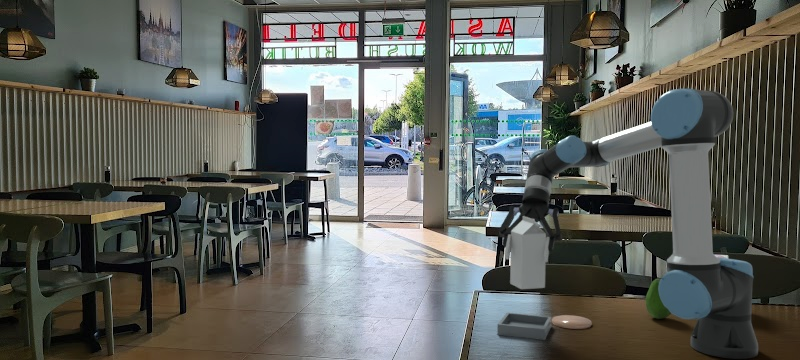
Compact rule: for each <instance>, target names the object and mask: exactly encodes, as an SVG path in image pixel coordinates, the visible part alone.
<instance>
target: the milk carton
mask: <svg viewBox="0 0 800 360" xmlns="http://www.w3.org/2000/svg"><path fill="white" fill-rule="evenodd" d="M540 227H541V224H539V222H535V219H531V218H528V217H524V216H523V219H522V221H521V222H520V223H519V224H518V225H517V226H516V227H515V228H514V229H513V230H511V249H510V267H509V269H510V275H509V276H510V277H509V279H510V280H509V283H510V285H512V286H515V288H518V289H519V290H532V289H543V288H544V289H545V288H546V262H544V250H545V244H546V237H547V234H546V232H545V230H543V229H541V228H540Z"/></svg>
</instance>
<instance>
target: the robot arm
mask: <svg viewBox="0 0 800 360" xmlns="http://www.w3.org/2000/svg"><path fill="white" fill-rule="evenodd" d="M733 119H734V108H733V105H732V103H731V101H730V100H729V98H727V97H726V95H723V94H722V93H720V92H718V91H713V90H703V89H695V88H676V89H671V90H668V91H666V92H665V93H663V94H662V95H660V96H659V98H658V99H657V100H656V101H655V102H654V104H653V107H652V109H651V114H650V121H647V122H646V123H642V124H639V125H636V126H633V127H630V128H627V129H623V130H621V131H618V132H616V133H613V134H610V135H606V136H603V137H601V138H598V139H594V140H592V141H591V140H590V141H583V140H582V139H581V138H580V137H577V135H569V136H567V137H565V138H562V139H561V140H559V142H557V143H556V144H555V145H553V146H552V147H550V148H549V149H545V148H544V149H543V148H542V149H537V150H535V151H533V153H532V154H531V156H530V159H529V161H528V169H527V175H526V181H525V186H524V190H523V196H522V199H521V200H522V201H521V204H520V206H519V207H514V205H510V206H509V210H508V213H507V215H506V217H505V218H504V221H503V222H502V223H501V225H500V226H499V228H498V233H499V237H500V238H503V241H502V245H503V248H505V250H504V258H505V260H509V259H510V255H511V230H513V229H514V228H515V227H516V226H517V225H518V224H519V223H520V222H521V221H522V219H523V216H524V217H528V218H531V219H535V222H537V223H540V226H542V228H543V231H544V232H545V233H546V244H545V250H544V262H545V263H548V261H549V260H548V259H549V254H550V252H553V251H554V248H555V246H554V245H555V242H556V241H558V242H561V241H562V240H563V238H562V231H561V227H560V223H559V215H560V214H559V208H558V207H554V208H553V209H552V208H549V206H550V205H549V203H550V196H551V193H552V185H553V179H554V177H556V176H557V175H559V174H561V173H562V172H564V171H565V170H567V169H569V168H587V167H588V168H590V167H591V168H592V167H594V168H599V167H600V168H602V167H605V166H608V165H609V164H610V163H612V162H615V161H619V160H621V159H625V158H628V157H631V156H635V155H638V154H642V153H646V152H648V151H652V150H655V149H659V148H662V150H664V151H665V152H666V153H667V154H668V164H669V165H668V166H669V187H670V188H669V190H670V209H671V210H670V211H671V213H670V214H671V227H672V228H671V231H672V254H671V255H670V256H669V257H668V258H667V259H666V273H665V274H664V275H662V278H660V279H661V280H660V282H659V287H658V291H659V296H660V299H661V301H662V303H663V305H664V306H665V307H666V308H667V309H668V310H669V311H670V312H671V314H672V315H674V316H675V317H677V318H680V319H683V320H697V321H696V323H695V325H694V326H693V327H694V328H693V330H692V332H691V334H690V346H691V348H692V349H693V350H694V351H697V352H699V353H702V354H705V355H708V356H713V357H718V358H724V359H733V360H734V359H735V360H743V359H744V360H746V359H754V358H755V357H757V356H758V354H759V343H758V340H757V338H756V333H755V330H754V328H753V324H752V308H753V307H752V302H753V286H754V285H753V284H754V283H753V282H754V275H753V273H754V270H753V265H752V264H751V263H750V262H748V261H745V260H739V259H734V258H729V259H727V258H720V257H716V256H715V255H716V254H715V255H714V252H713V251H714V250H713V229H712V228H713V226H712V209H711V208H712V207H711V187H710V186H711V185H710V160H709V153H710V150H711V149H712V148H713V147H714V146H715V145H716V140H715V139H716V137H719V136H720V135H722V134H724V133H725V132H726V131H727V130H728V129H729V127H730V126H731V124H732V123H733ZM518 214H519V215H518ZM517 215H518V217H517V218H516V219H515V217H516V216H517ZM548 215H550V218H552V220H553V225H554V231H555V233H554V232H553V231H552V227H550V225H549V223H548V221H547V219H546V217H547V216H548ZM514 219H515V220H514ZM512 222H513V223H512Z"/></svg>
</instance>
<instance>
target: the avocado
mask: <svg viewBox="0 0 800 360" xmlns="http://www.w3.org/2000/svg"><path fill="white" fill-rule="evenodd" d="M660 280H661V278H655V279H654V280H653V281H652V282H651V284H650V285H649V288H648V291H647V293H646V296H645V308H646V310H647V312H648V315H650V316H651V317H652V318H654V319H657V320H662V319H665V318H667V317H668V318H669V316H670V315H671V314H672V313H671V312H670V311H669V310H668V309H667V308H666V307H665V306H664V305H663V303H662V301H661V299H660V296H659V291H658V287H659V282H660Z"/></svg>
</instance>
